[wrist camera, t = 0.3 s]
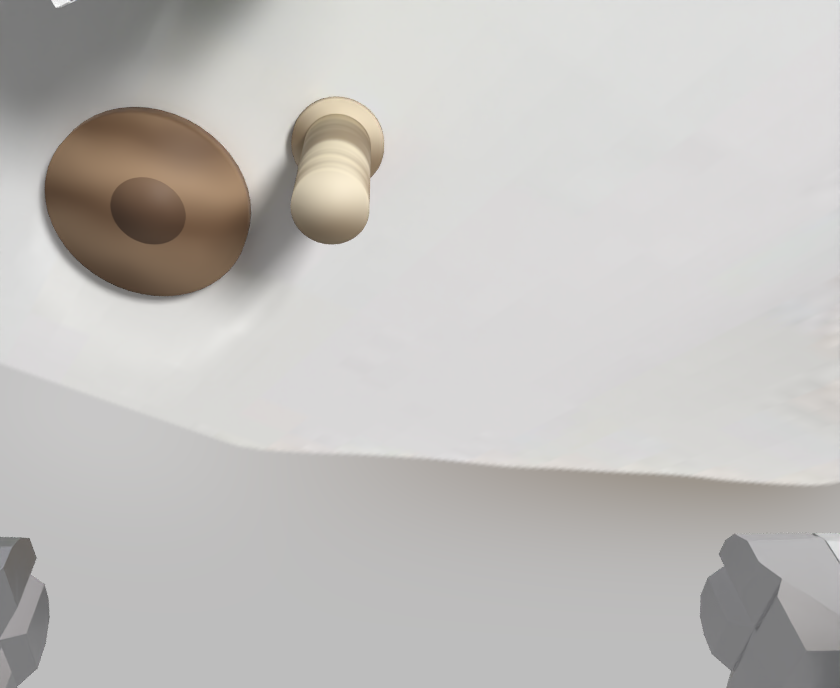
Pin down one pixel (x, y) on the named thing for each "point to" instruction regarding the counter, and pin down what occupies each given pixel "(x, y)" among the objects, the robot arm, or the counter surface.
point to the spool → (334, 168)
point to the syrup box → (61, 3)
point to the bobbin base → (148, 201)
